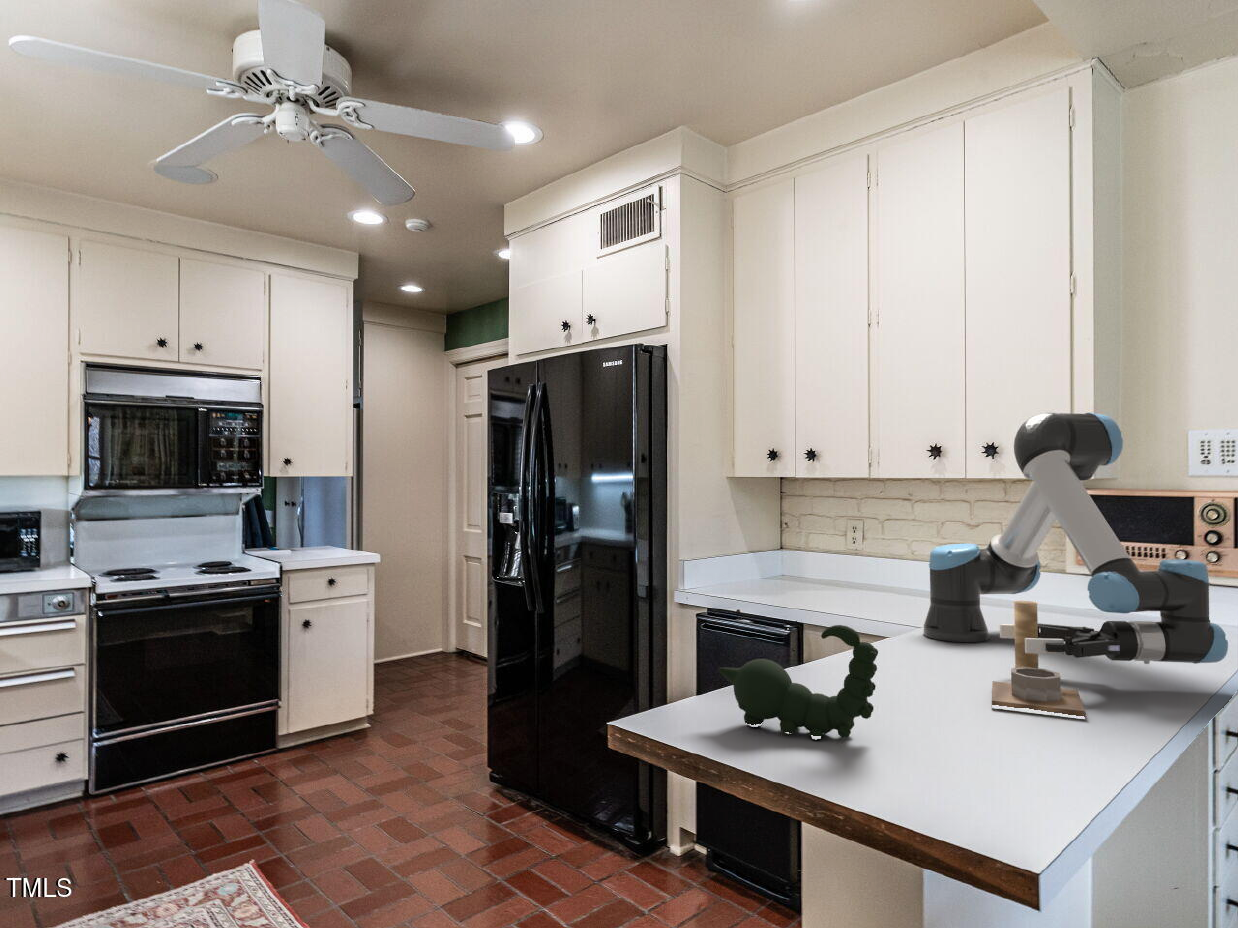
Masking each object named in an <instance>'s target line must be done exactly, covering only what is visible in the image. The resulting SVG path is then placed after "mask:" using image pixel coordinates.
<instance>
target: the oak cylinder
mask: <svg viewBox="0 0 1238 928" xmlns="http://www.w3.org/2000/svg"><path fill="white" fill-rule="evenodd" d="M1013 609H1014V610H1013V611H1014V612H1013V615H1014V616H1013V617H1014V619H1013V620H1014V625H1015V638H1014V663H1015V665H1014V666H1015V667H1014V668H1021V667H1029V668H1039V654H1033V653H1025V638H1038V623H1039V622H1038V618H1039V617H1038V602H1036V601H1030V600H1015V601H1013Z"/></svg>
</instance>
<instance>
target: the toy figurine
mask: <svg viewBox="0 0 1238 928" xmlns="http://www.w3.org/2000/svg"><path fill="white" fill-rule="evenodd" d="M820 637H821V639H823V640H824V639H825V640H826V638H828V637H835V638H838V639H840V640H841V641H843V643H844V644H846V645H847V646H849V647H853V648H852V649H853V650H852V656H853V658H851V659H850V661H849V664H848V674H847V675H846V676H845V678H844V680H843V687H842V688H841V689H840V690H839V691H838V692H837V694H836V695H831V696H828V695H825V694H823V693H818V692H817V693H816V692H815V693H812V691H811V690H810V689H809V688H808V687H807V686H805V685H804V684H801V683H797V682H792V679H791V676H790V674H789V673H788V672H787V671H786V669H785V668H783V667H782V665H780V664H779V663H777V662H775V661H773V660H770V659H768V658H757V659H753V660H750V661H748V662H746V663H745V664H743V665H742V666H741V667H737V668H736V667H718V668H717V671H718V673H719V674H721V675H722V677H724V678H725V679H726V680H727V681H728V682H730V683H731V685H732V686H733V693H734V697H735V700H736V703H737V704H738V705H737V706H738V708H739V709H740V710H743V712H744V714H743V719H744V721H743V722H744V723H745V724H746V723H747V724H751V725H754V724H755V725H756V724H761V723H762V722H763V723H764V721H765V720H772V719H775V718H777V719H778V720H779V721H780V723H779V728H780V729H779V730H780V731H781V732H782V731H783V732H782V733H784V732H789V733H792V732H793V733H795V732H796V731H797V728H802V727H803V728H804V729H805V730H807V731H808V730H809V731H808V732H809V734H810V735H813V736H822V735H823V736H824V734H823V733H825V734H827V733H828V732H829V733H830V732H832V731H833V730H836V731H837V735H838V736H840V737H841V738H843V737H845V738H849V737H850V735H851V733H852V729H853V728H854V727H855V721H854V720H855V718H858V717H861V718H863V719H865V720H868V719H869V718H871V717H872V713H874V705H873V704H872V703H871V702H869V701H868V698H870V697H872V696H873V695H874V691H875V690H876V684H875V682H873V681H872V679H873V678H874V676H875V675H876V672H877V670H878V667H877V664H876V663H875V661H876V659H877V657H878V654H879V650H878V649H877V648H876V647H874V645H873V644H872V643H870V642H867V641H860V635H859V634H858V632H857V631H856V630H855V629H854V628H851V627H850V626H847V625H843V624H836V625H835V624H834V625H831V626H829V627H827V628H826V629H825V630H824V631H823V632H822V633H821V636H820ZM793 733H792V734H793ZM809 734H808V735H809ZM810 735H809V736H810ZM823 736H822V737H823Z"/></svg>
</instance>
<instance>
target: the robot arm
mask: <svg viewBox="0 0 1238 928" xmlns="http://www.w3.org/2000/svg"><path fill="white" fill-rule="evenodd" d="M1013 440H1014V442H1013V453H1014V458H1015V462H1016V463H1017V465H1018V469H1020V471H1021V473H1022V474H1023V476H1024V478H1026V479H1027V480H1031V481H1032V482H1031V484H1030V486H1028V489H1027V490H1026V492H1025V494H1024V495H1023V497H1022V499H1021V501H1020V503H1019V504H1018V506H1017V508H1016V510H1015V511H1014V513H1013V515H1012V517H1011V519H1010V520H1009V522H1008V524H1007V525H1006V527H1005V529H1004V531H1003V532H1002V534H1001V533H1000V534H997V535H994V536H993V537H992V538H991V540H990V542H989V543H988V545H987V547H986V548H980V547H979V545H978V544H976V543H954V544H953V543H952V544H945V545H940V546H937V547H934V548H933V549H931V551H930V553H929V562H928V563H929V564H928V567H929V591H930V593H929V595H930V598H929V599H930V602H929V603H930V604H929V608H928V611H927V614H926V616H925V617H926V618H925V620H924V624H923V636H925V637H927V638H930V639H934V640H938V641H946V642H953V643H954V642H955V643H980V642H985V641H988V640H989V629H988V626H987V623H986V620H985V618H984V614H983V613H982V609H981V595H1017V594H1020V593H1021V594H1022V593H1026V592H1029V591H1030V590H1032V589H1033V588H1034V587H1035V586H1036V585H1037V584H1038V582H1039V581H1040V577H1041V571H1040V570H1041V569H1042V568H1041V567H1042V565H1041V561H1040V556H1039V553H1038V550H1039V548H1040V546H1041V545H1042V543H1043V542H1044V540H1045V538H1047V536H1048V534H1049V533H1050V530H1051V529H1052V527H1053V526H1054V524H1055V523H1056V521H1057V522H1058V523H1059V525H1060V527H1061V528H1062V530H1063V532H1064V533H1065V535H1066V536H1067V538H1068V540H1069V541H1070V543H1071V544H1072V546H1073V547H1074V549H1075V551H1076V553H1077V554H1078V556H1079V558H1080V559H1081V561H1082V563H1083V564H1084V565H1085V567H1086V569H1087V571H1088V572H1089V574H1090V576H1091V578H1090V579H1089V581H1088V583H1087V591H1088V597H1089V600H1090V602H1091V604H1092V605H1094V607H1095V608H1096V609H1098V610H1100V611H1101V612H1104V613H1113V614H1114V613H1115V614H1130V613H1139V612H1140V613H1141V612H1143V613H1144V612H1159V614H1160V615H1159V616H1160V621H1150V620H1149V621H1148V620H1147V621H1146V620H1142V621H1139V620H1137V621H1136V620H1130V621H1125V620H1124V621H1123V620H1106V621H1105V622H1102V623H1103V624H1101V627H1100V630H1095V628H1093V627H1087V626H1072V625H1071V626H1069V625H1061V624H1059V625H1058V624H1051V623H1049V624H1048V623H1047V624H1046V623H1039V622H1038V638H1025V653H1033V654H1038V655H1066V656H1073V657H1074V658H1076V659H1080V658H1088V657H1098V656H1105V657H1106V658H1107V659H1108V660H1110V661H1115V662H1117V661H1118V662H1119V661H1121V662H1131V661H1134V662H1143V663H1144V664H1145V665H1149V664H1151V663H1150V662H1158V663H1159V662H1165V663H1167V662H1168V663H1187V664H1189V663H1190V664H1196V665H1197V664H1212V663H1218V662H1221V661H1223V660H1224V659H1225V658H1226V656H1227V654H1228V651H1229V642H1228V641H1229V640H1228V639H1226V635H1227V634H1226V632H1225V631H1224V629H1223V628H1222V627H1221V626H1220V625H1219V624H1216V623H1213V622H1211V620H1210V586H1211V585H1210V584H1211V583H1210V582H1209V581H1210V579H1209V573H1208V572H1209V571H1208V566H1207V565H1206V563H1204V562H1203V561H1200V560H1194V559H1193V560H1191V559H1178V558H1174V559H1173V558H1172V559H1171V558H1170V559H1169V558H1166V559H1162V560H1160V562H1159V565H1158V569H1157V570H1148V571H1146V570H1143V571H1142V570H1141V571H1140V570H1139V568H1138V567H1137V565H1136V564H1135V562H1134V561H1133V559H1132V557H1131V556H1130V555H1129V553H1128V552H1127V550H1126V549H1125V547H1124V546H1123V544H1122V542H1121V541H1120V540H1119V538H1118V537H1117V535H1116V533H1115V532H1114V530H1113V529H1112V527H1111V526H1110V525H1109V523H1108V522H1107V519H1105V516H1104V515H1103V514H1102V512H1101V511H1100V509H1099V508H1098V505H1096V503H1095V502H1094V500H1093V498H1092V497H1091V495H1090V494H1089V492H1088V490H1087V489H1086V487H1085V486H1084V484H1083V483H1084V482H1087V481H1089V480H1091V479H1092V478H1093V476H1094V475H1095V473H1096V471H1097V470H1098V468H1099V467H1100V466H1103V467H1104V466H1105V467H1106V466H1108V465H1111V464H1113V463H1115V462H1117V460H1118V459H1119V458H1120V456H1121V454H1122V451H1123V444H1124V440H1123V436H1122V430H1121V428H1120V427H1119V425H1118V424H1117V422H1116V421H1115V420H1114V419H1113V418H1111V417H1110V416H1108V415H1105V414H1102V413H1093V412H1086V413H1074V412H1073V413H1070V412H1069V413H1067V412H1066V413H1065V412H1059V413H1058V412H1044V413H1043V412H1042V413H1039V414H1035V415H1033V416H1031V417H1029V418H1028V419H1027V420H1026V421H1024V422H1023V423H1022V424H1021V425H1020V427H1019V428H1018V430H1017V432H1016V434H1015V437H1014V439H1013ZM999 638H1001V639H1015V624H1005V623H1003V624H1002V623H1001V624H1000V623H999Z"/></svg>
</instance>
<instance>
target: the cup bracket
mask: <svg viewBox="0 0 1238 928" xmlns="http://www.w3.org/2000/svg"><path fill="white" fill-rule="evenodd" d="M1010 672H1011V673H1010V674H1011V682H1004V681H1003V682H1002V681H992V685H991V686H992V688H991V706H992V705H999V706H1007V707H1014V708H1029V709H1034V710H1041V711H1047V712H1054V713H1062V714H1068V715H1076V716H1084V717H1085V718H1086V709H1085V706H1084V704H1083V701H1082V699H1081V695H1080V693H1079V690H1078V689H1070V688H1061V686H1062V685H1061V684H1062V683H1061V682H1062V681H1061V674H1060V672H1057V671H1053V670H1049V669H1046V668H1039V667H1038V668H1029V667H1021V668H1015V667H1012V668H1011V669H1010Z"/></svg>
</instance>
